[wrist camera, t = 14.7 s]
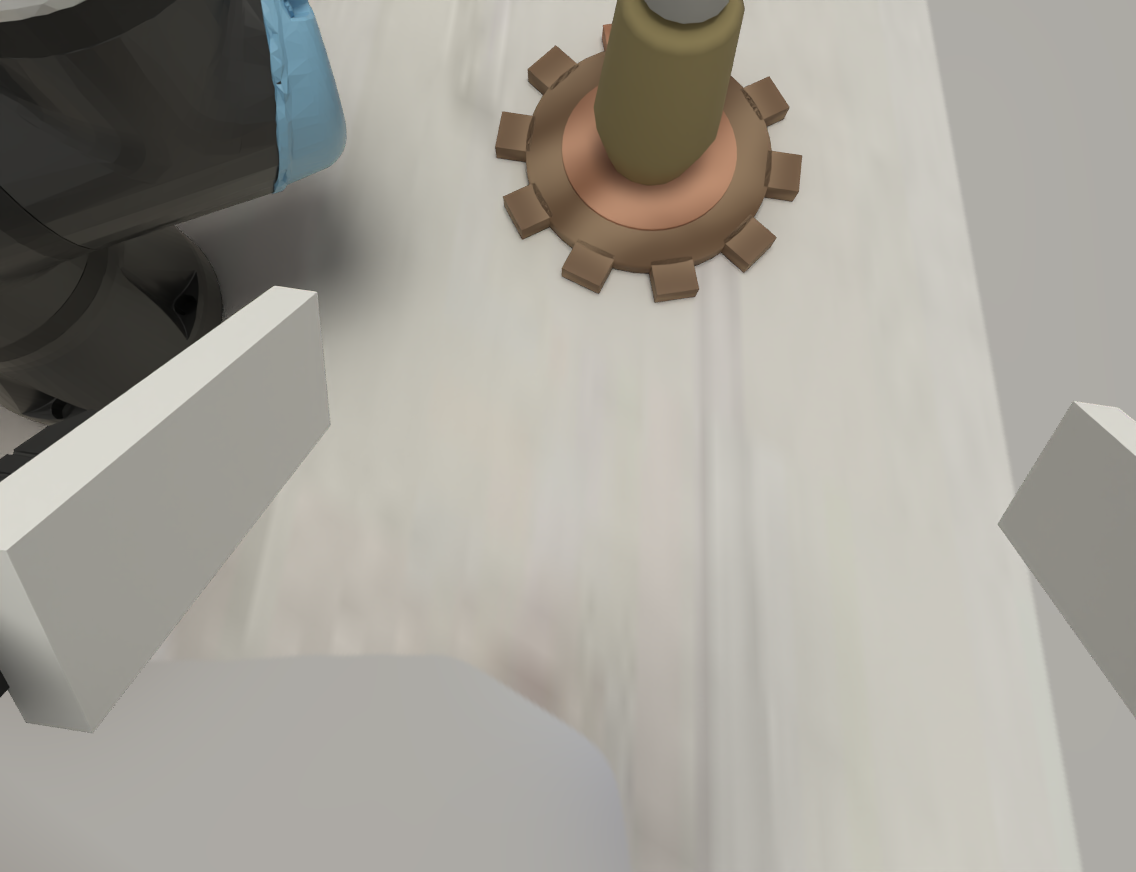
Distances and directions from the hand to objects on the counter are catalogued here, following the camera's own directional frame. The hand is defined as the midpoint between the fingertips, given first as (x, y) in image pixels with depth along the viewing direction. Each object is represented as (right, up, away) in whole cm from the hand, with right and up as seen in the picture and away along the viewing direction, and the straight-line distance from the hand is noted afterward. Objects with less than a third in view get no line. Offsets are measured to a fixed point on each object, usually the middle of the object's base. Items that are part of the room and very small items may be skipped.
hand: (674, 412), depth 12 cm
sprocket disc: (+4, +19, +34) cm, 39 cm away
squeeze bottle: (+4, +19, +33) cm, 38 cm away
